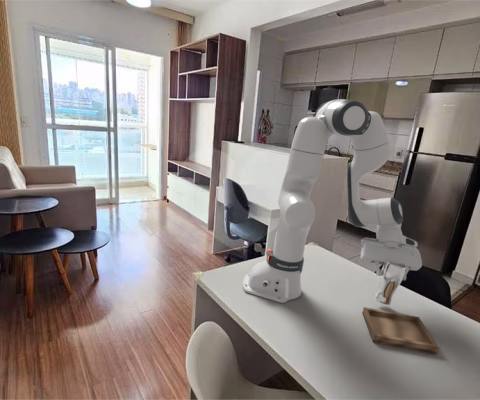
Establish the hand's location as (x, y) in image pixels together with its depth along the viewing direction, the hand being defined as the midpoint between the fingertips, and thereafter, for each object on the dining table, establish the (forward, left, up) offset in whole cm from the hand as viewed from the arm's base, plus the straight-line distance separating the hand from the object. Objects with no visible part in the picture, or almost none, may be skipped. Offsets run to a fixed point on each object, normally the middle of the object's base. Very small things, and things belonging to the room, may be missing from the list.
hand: (391, 277), depth 103 cm
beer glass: (-1, 0, -10) cm, 10 cm away
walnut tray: (0, -13, -12) cm, 18 cm away
